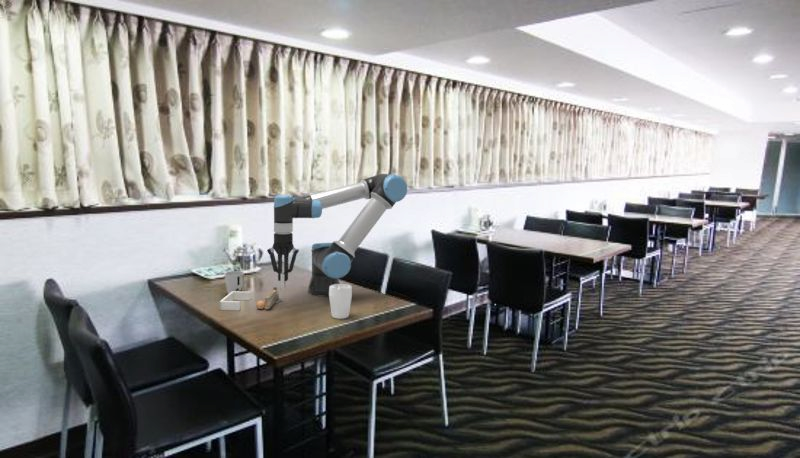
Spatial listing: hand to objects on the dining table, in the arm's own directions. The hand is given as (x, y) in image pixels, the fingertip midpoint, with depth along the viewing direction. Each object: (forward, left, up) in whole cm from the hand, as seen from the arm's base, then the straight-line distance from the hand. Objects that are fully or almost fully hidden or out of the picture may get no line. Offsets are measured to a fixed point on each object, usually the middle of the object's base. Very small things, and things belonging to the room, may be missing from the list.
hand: (283, 288), depth 193 cm
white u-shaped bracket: (+20, +1, -7) cm, 21 cm away
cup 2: (-25, +13, -8) cm, 29 cm away
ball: (+8, +6, -6) cm, 11 cm away
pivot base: (+5, -5, -7) cm, 10 cm away
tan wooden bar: (+5, +1, -6) cm, 8 cm away
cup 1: (+25, -13, -7) cm, 29 cm away
